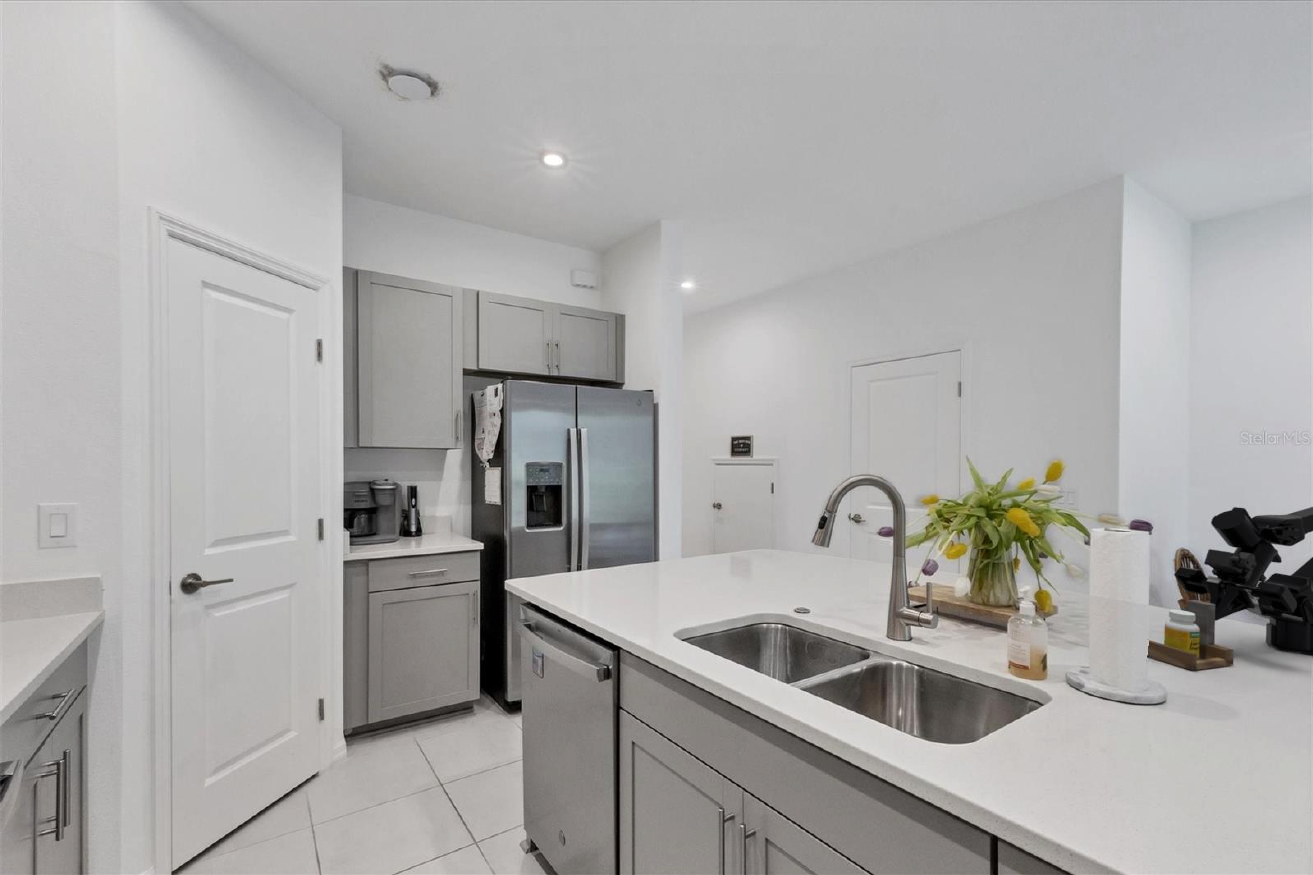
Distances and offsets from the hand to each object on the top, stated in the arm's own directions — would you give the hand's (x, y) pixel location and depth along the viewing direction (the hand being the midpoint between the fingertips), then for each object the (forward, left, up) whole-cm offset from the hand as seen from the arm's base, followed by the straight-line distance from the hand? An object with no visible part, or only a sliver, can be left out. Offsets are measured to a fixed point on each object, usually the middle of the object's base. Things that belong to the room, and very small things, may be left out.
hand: (1212, 618), depth 126 cm
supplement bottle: (+6, +6, -8) cm, 12 cm away
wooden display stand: (+6, +6, -7) cm, 11 cm away
